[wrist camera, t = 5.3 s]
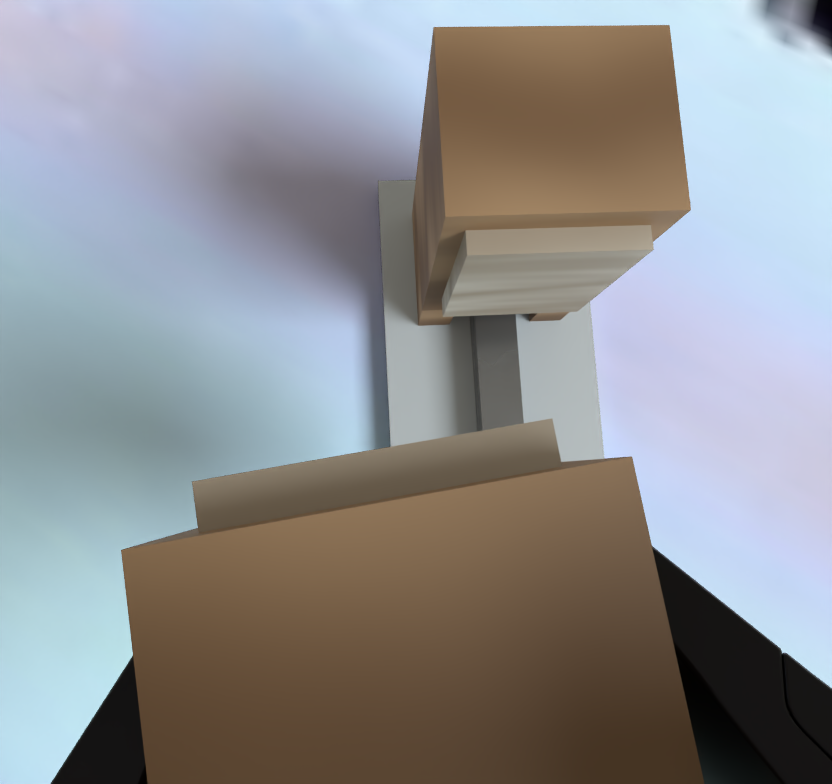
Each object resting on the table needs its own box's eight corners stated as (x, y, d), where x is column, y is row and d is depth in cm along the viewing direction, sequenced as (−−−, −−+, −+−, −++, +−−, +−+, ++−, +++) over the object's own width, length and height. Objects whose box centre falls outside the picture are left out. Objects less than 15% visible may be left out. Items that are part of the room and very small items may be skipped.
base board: (618, 695, 22) (626, 703, 22) (403, 712, 22) (404, 721, 21) (572, 185, 25) (578, 176, 24) (378, 190, 24) (377, 180, 24)
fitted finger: (561, 335, 23) (694, 235, 13) (418, 341, 23) (447, 243, 13) (550, 209, 24) (669, 25, 14) (411, 213, 24) (433, 26, 14)
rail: (536, 702, 22) (546, 715, 20) (495, 705, 21) (501, 719, 20) (498, 185, 24) (504, 170, 23) (461, 186, 24) (465, 171, 23)
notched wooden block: (515, 636, 16) (730, 899, 6) (307, 678, 16) (175, 1034, 6) (478, 446, 17) (620, 402, 7) (278, 481, 16) (114, 491, 6)
